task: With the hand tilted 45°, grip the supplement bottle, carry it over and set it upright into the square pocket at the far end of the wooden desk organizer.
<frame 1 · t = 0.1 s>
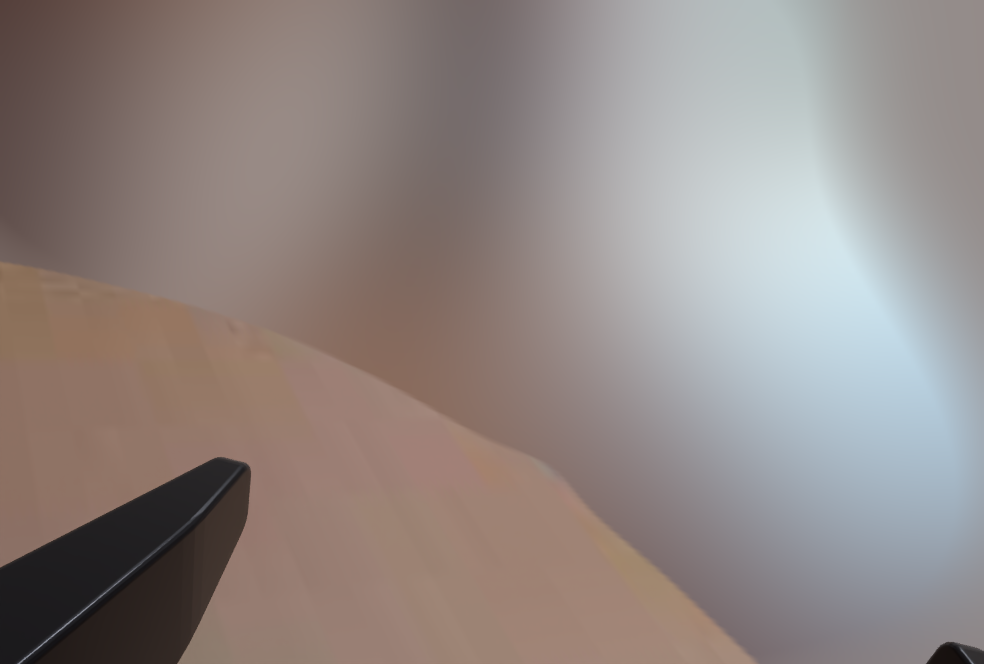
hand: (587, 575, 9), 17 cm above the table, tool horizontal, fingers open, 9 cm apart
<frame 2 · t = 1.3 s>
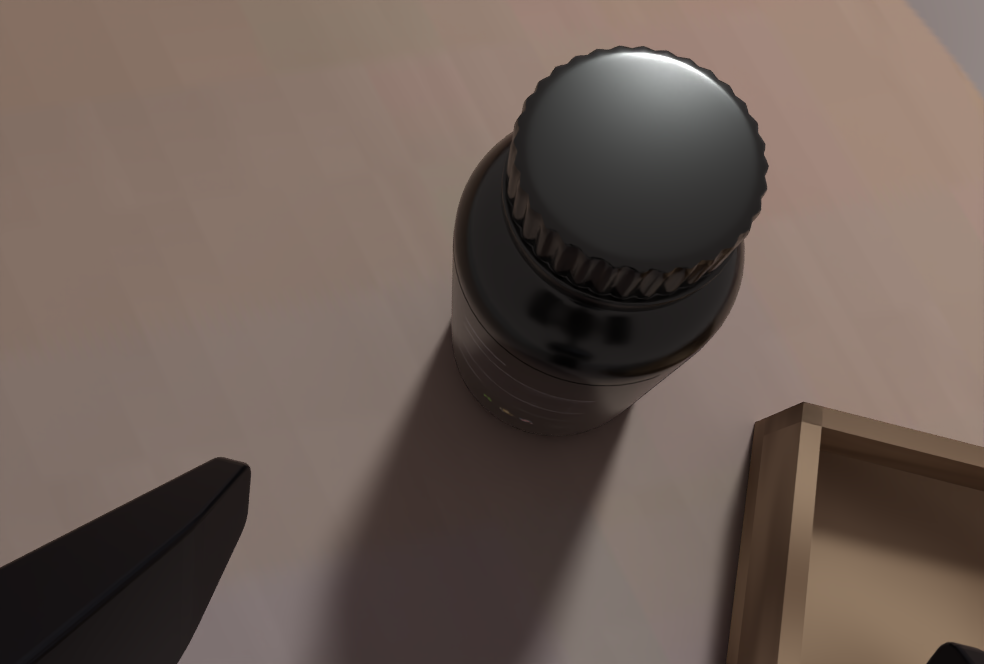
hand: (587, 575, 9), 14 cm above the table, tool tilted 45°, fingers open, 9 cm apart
supplement bottle: (547, 343, 24), on the table
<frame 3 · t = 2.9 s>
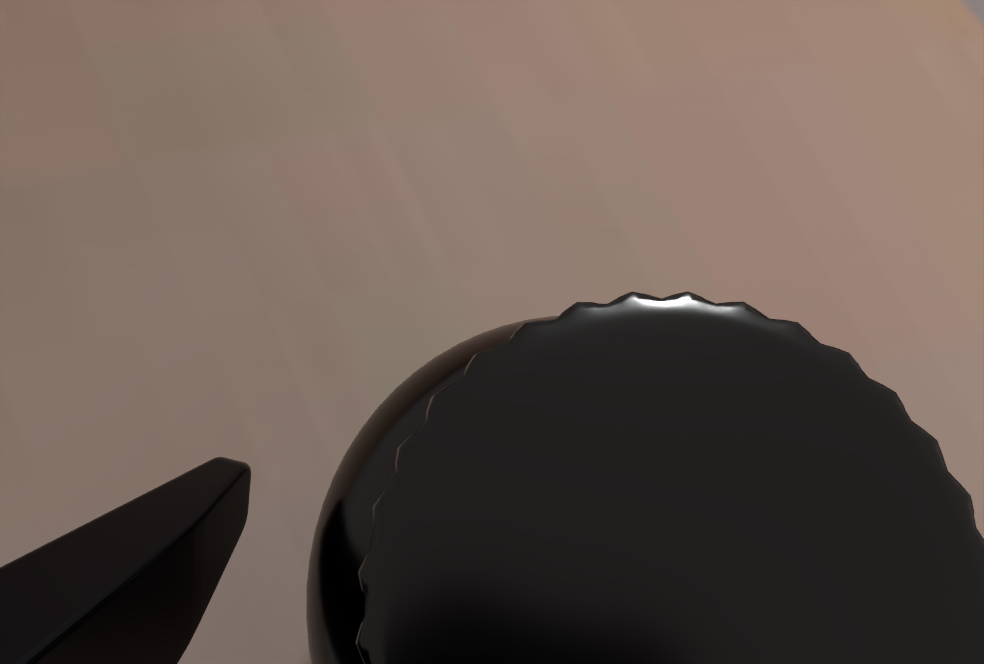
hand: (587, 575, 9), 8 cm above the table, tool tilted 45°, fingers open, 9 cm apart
supplement bottle: (517, 570, 17), on the table
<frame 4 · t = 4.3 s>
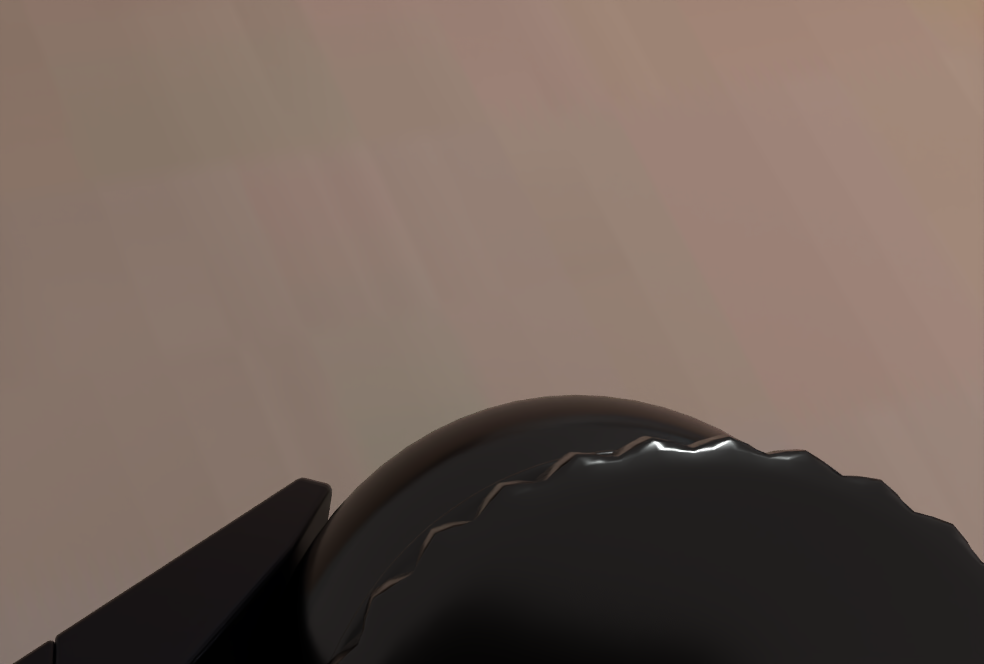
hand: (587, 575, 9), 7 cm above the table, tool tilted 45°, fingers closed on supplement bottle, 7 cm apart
supplement bottle: (511, 636, 15), on the table, touching gripper
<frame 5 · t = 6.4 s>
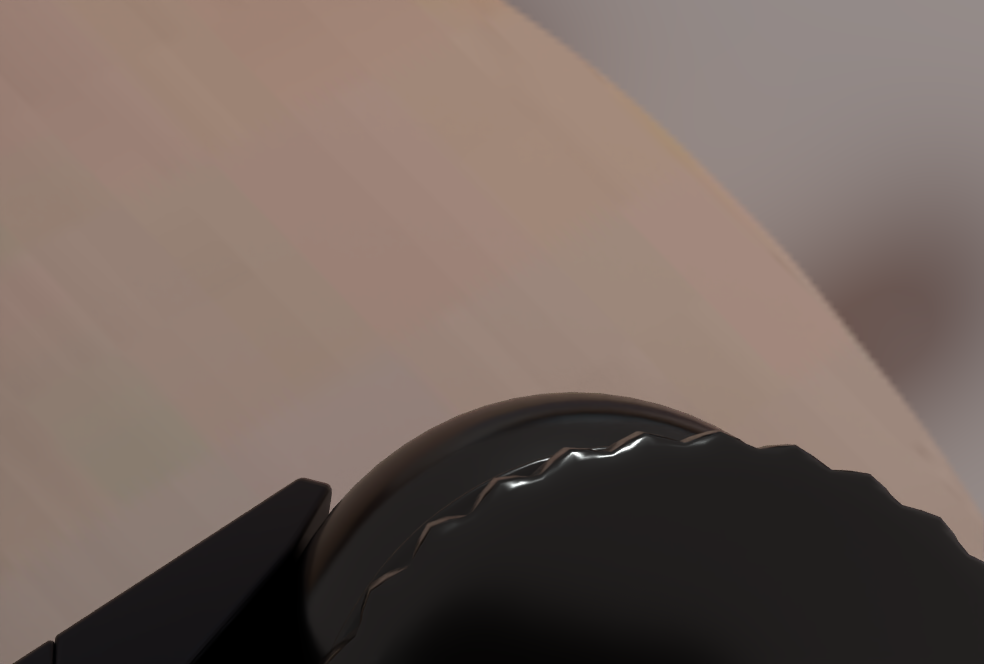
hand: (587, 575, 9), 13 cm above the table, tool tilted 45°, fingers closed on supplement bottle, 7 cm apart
supplement bottle: (510, 633, 15), point 6 cm above the table, touching gripper
when the fingers open (9 cm above the table, at t = 8.9 s): supplement bottle drops 1 cm, resting on wooden desk organizer.
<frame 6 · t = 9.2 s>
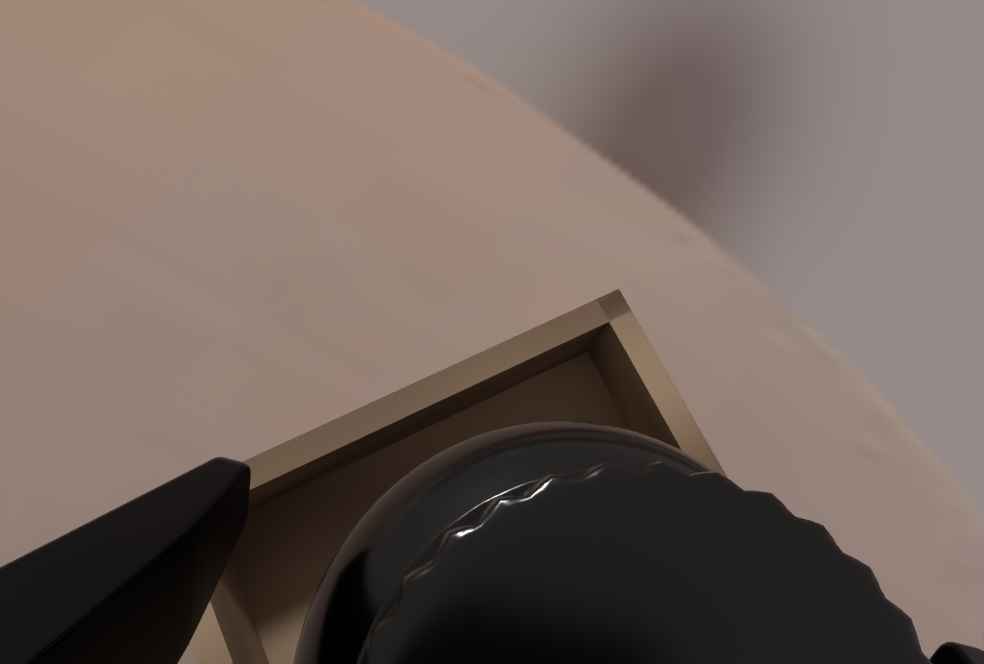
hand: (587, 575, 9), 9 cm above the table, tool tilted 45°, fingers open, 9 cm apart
supplement bottle: (506, 632, 17), point 1 cm above the table, touching wooden desk organizer
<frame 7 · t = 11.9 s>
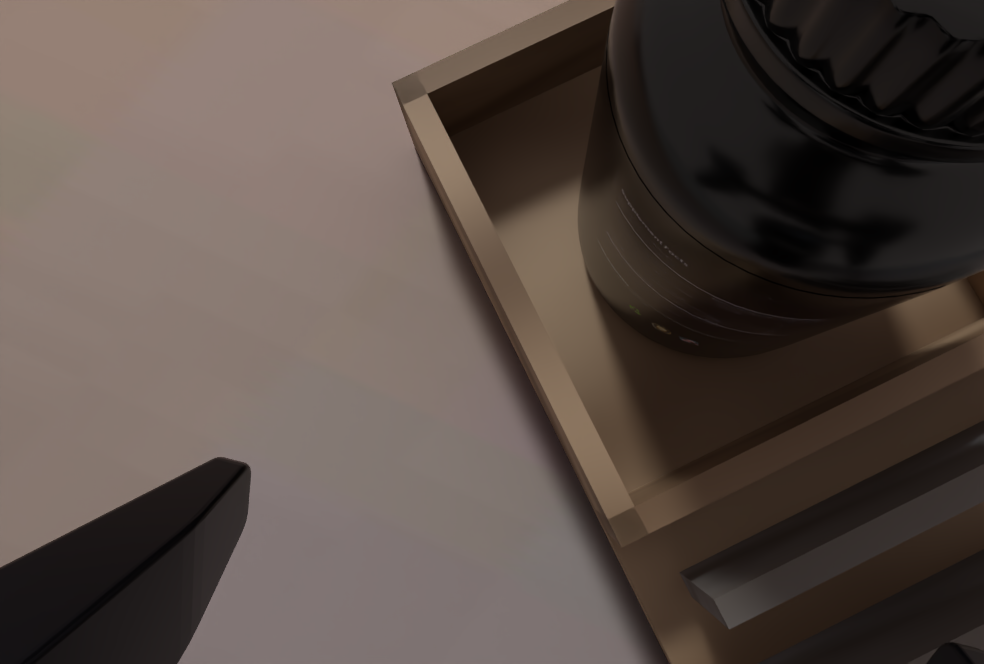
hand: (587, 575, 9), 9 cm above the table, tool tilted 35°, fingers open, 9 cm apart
supplement bottle: (706, 231, 18), point 1 cm above the table, touching wooden desk organizer
wooden desk organizer: (780, 385, 18), on the table
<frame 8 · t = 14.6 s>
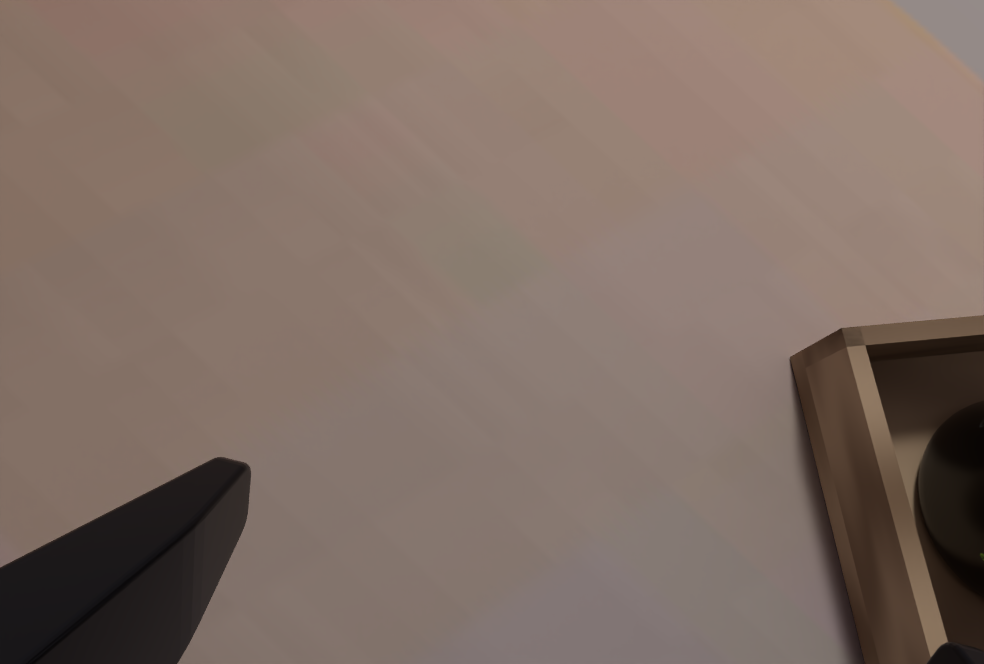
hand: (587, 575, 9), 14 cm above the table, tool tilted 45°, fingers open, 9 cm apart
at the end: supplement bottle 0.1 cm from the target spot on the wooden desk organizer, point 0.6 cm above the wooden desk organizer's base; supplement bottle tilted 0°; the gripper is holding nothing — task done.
